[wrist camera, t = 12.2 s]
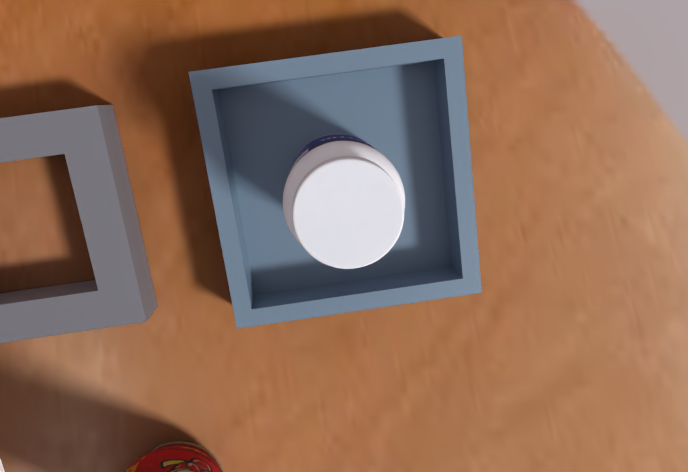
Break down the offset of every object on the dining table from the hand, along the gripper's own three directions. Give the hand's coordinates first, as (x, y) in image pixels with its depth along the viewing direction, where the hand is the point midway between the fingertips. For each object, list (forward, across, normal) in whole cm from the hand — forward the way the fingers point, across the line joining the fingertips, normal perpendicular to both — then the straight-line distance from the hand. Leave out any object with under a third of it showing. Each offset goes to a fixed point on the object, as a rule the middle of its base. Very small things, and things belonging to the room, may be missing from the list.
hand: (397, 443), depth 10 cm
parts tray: (+25, -1, -1) cm, 25 cm away
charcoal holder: (+25, +17, -1) cm, 30 cm away
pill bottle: (+25, -1, -1) cm, 25 cm away
